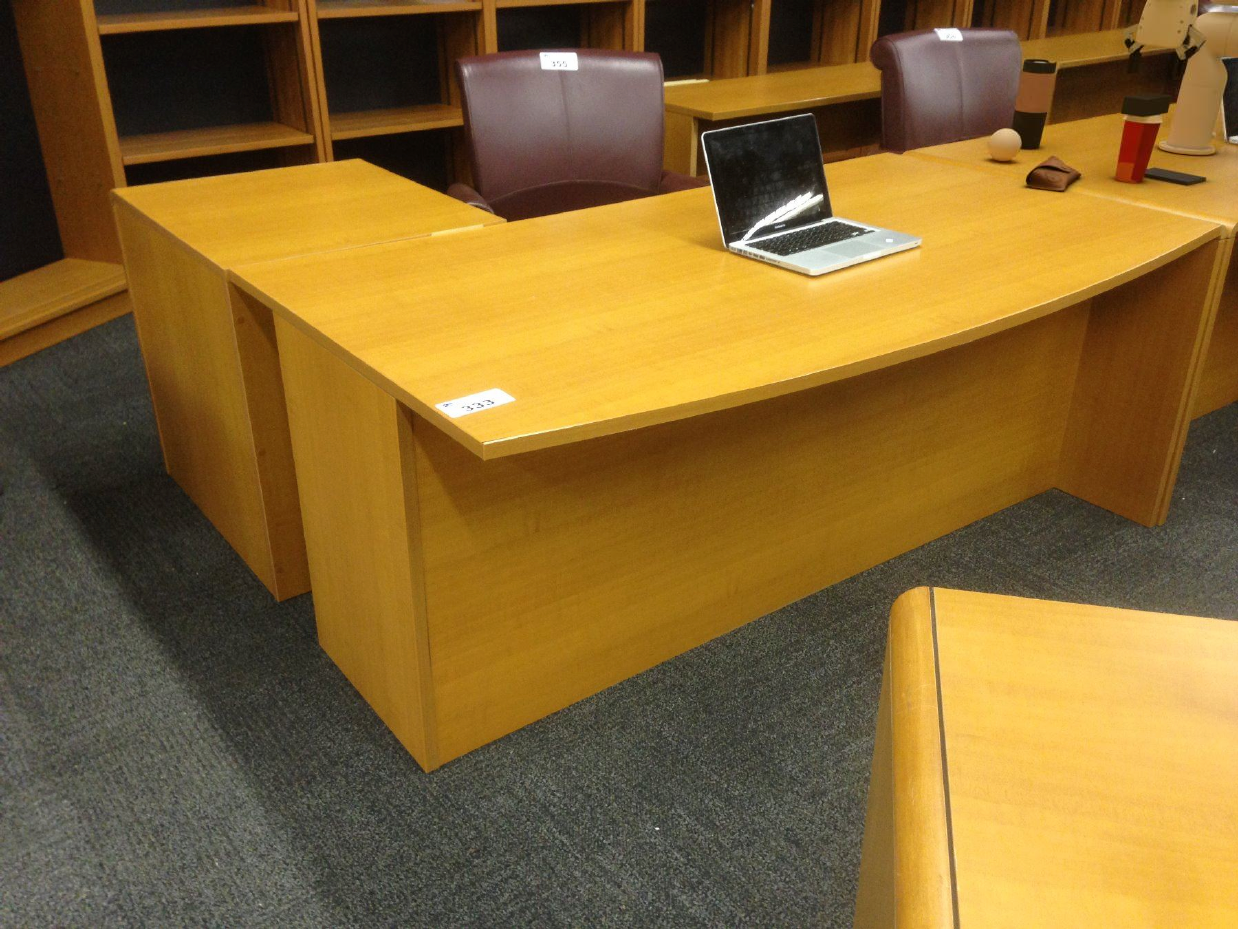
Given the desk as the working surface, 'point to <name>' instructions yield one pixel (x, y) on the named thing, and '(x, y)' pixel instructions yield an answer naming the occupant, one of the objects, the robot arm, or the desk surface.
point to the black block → (1146, 104)
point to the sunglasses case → (1052, 175)
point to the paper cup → (1136, 147)
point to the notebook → (1173, 176)
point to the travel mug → (1033, 101)
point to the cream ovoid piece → (1004, 144)
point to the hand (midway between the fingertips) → (1153, 76)
